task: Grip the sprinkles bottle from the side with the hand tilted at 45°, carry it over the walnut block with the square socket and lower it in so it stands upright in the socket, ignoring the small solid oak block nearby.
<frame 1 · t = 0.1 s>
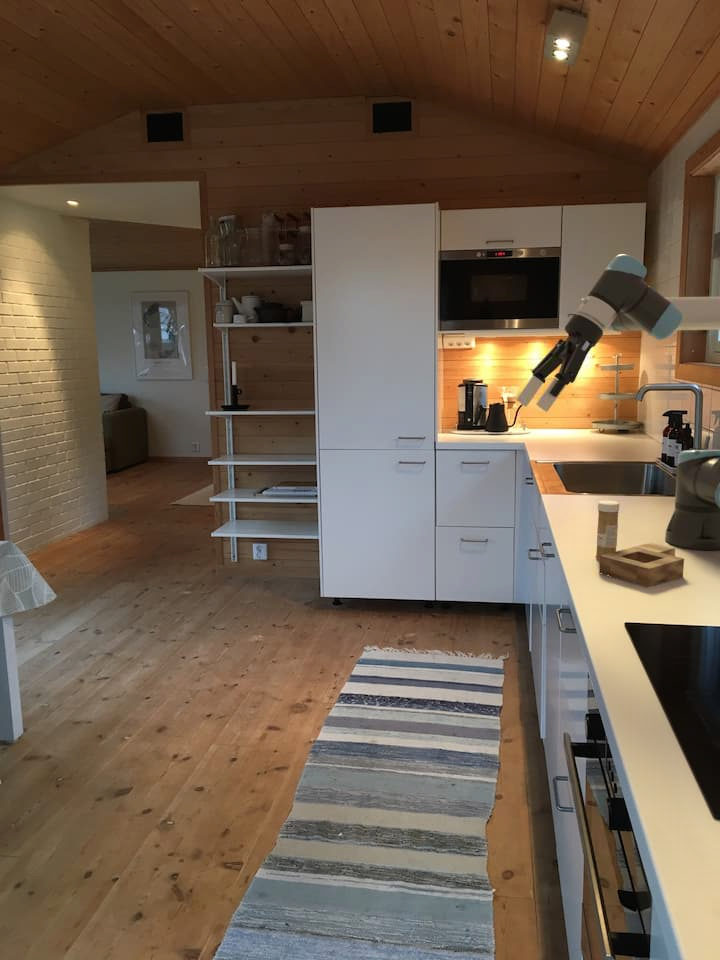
hand: (530, 405, 164), 36 cm above the countertop, tool tilted 35°, fingers open, 13 cm apart
sprinkles bottle: (606, 560, 175), on the countertop
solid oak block: (654, 564, 170), on the countertop
socket block: (640, 575, 163), on the countertop
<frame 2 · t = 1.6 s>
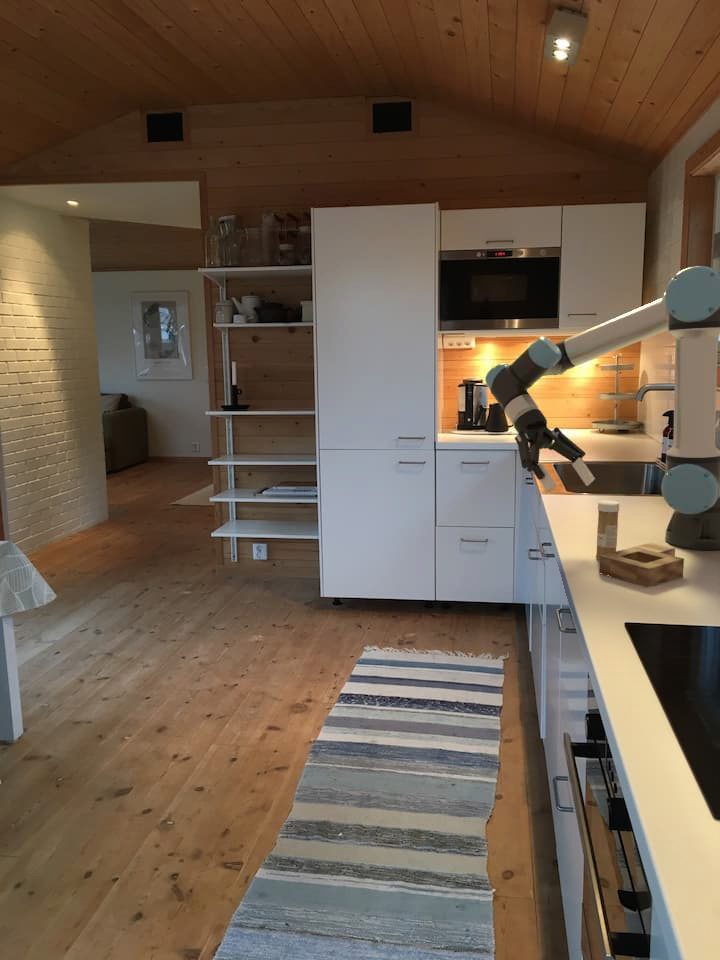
hand: (571, 485, 180), 16 cm above the countertop, tool tilted 45°, fingers open, 13 cm apart
nothing on the countertop moved.
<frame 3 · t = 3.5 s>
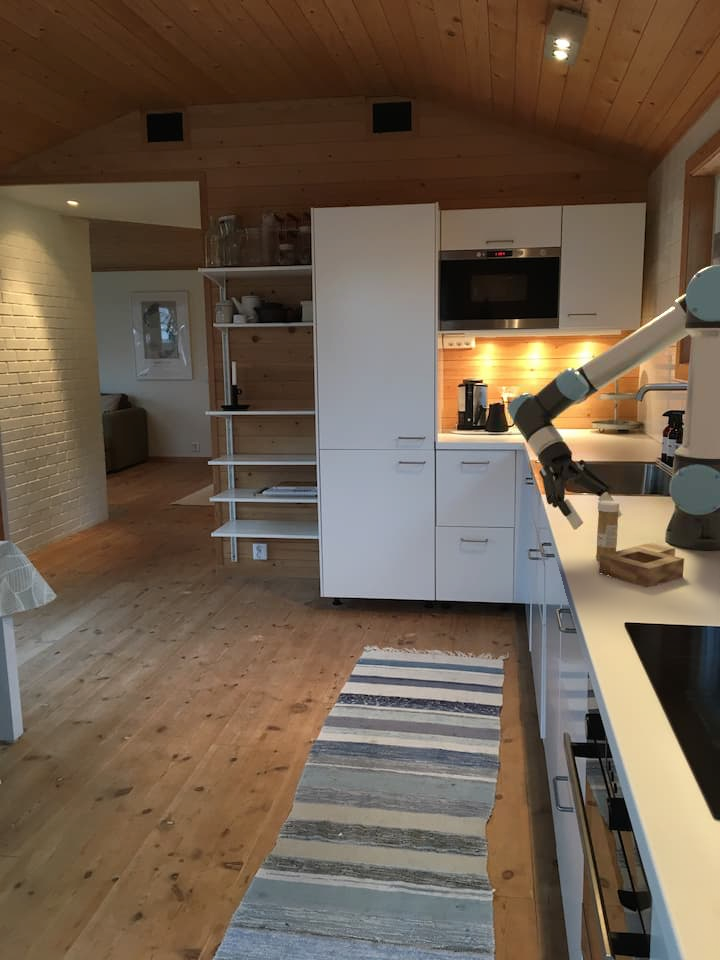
hand: (598, 522, 174), 8 cm above the countertop, tool tilted 45°, fingers open, 13 cm apart
nothing on the countertop moved.
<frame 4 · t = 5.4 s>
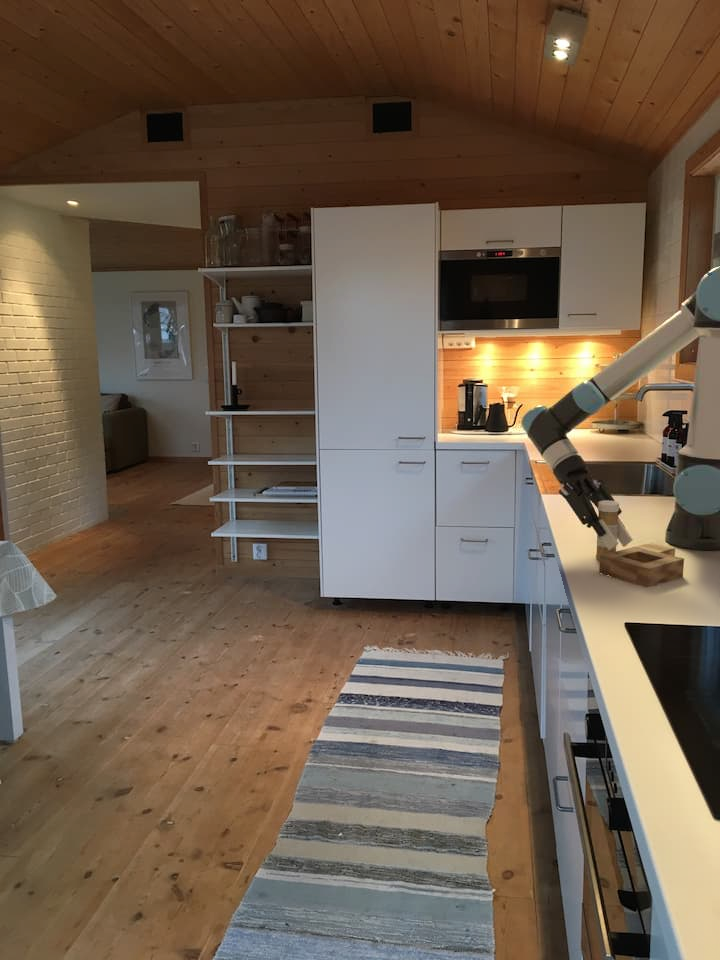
hand: (620, 544, 171), 4 cm above the countertop, tool tilted 45°, fingers closed on sprinkles bottle, 4 cm apart
sprinkles bottle: (606, 560, 175), on the countertop, touching gripper
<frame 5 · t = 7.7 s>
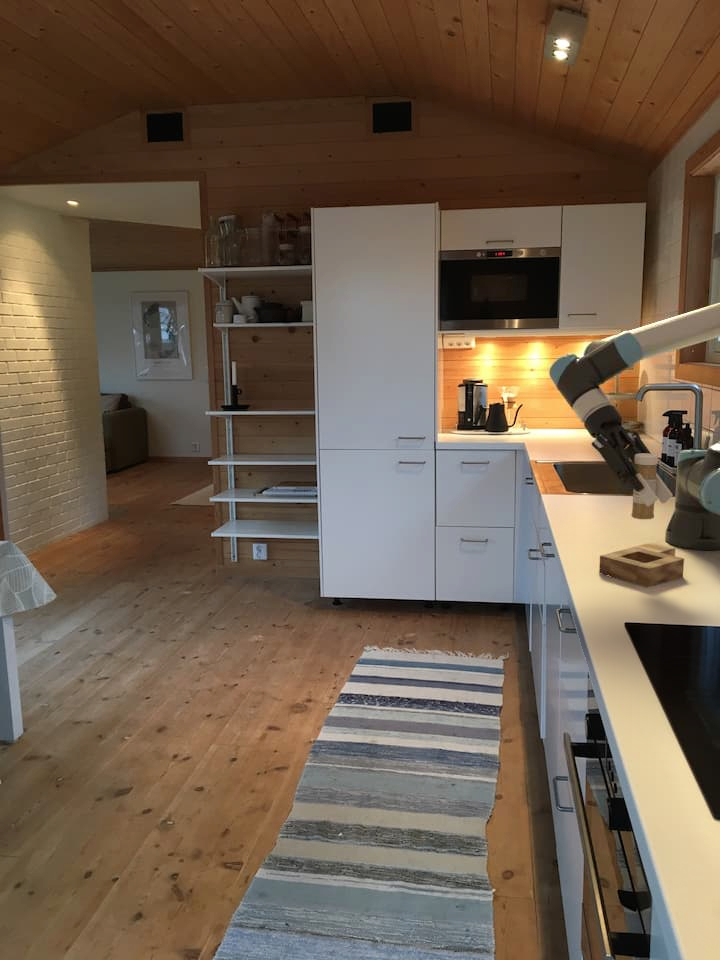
hand: (660, 500, 157), 17 cm above the countertop, tool tilted 45°, fingers closed on sprinkles bottle, 4 cm apart
sprinkles bottle: (642, 518, 161), point 12 cm above the countertop, touching gripper
when the fingers open (7 cm above the countertop, at t = 10.1 s): sprinkles bottle drops 1 cm, resting on socket block.
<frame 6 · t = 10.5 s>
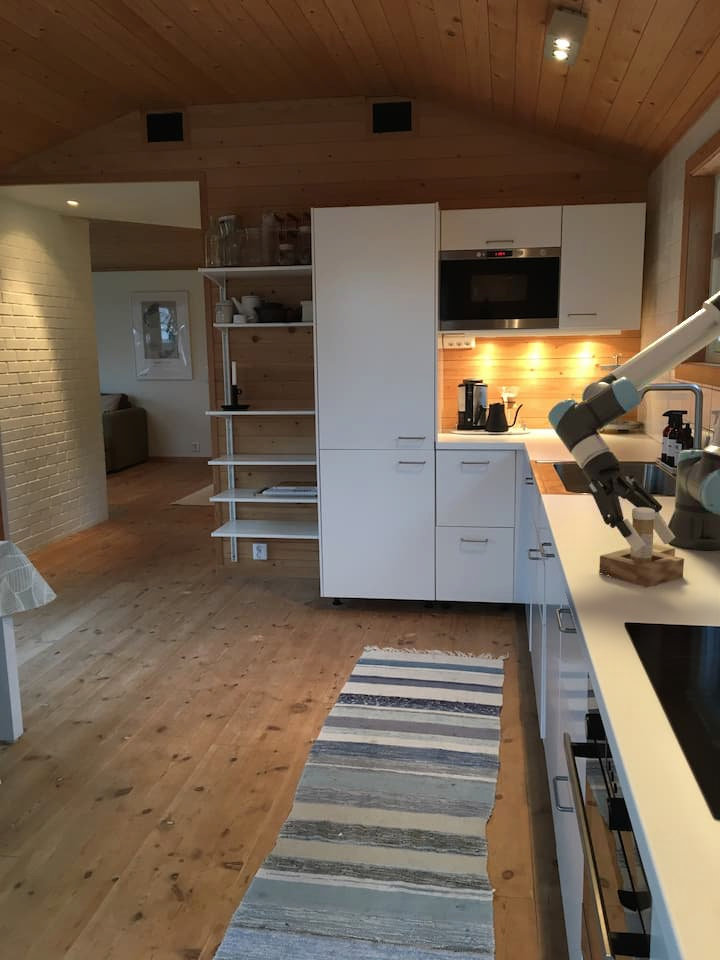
hand: (655, 544, 159), 7 cm above the countertop, tool tilted 45°, fingers open, 9 cm apart
sprinkles bottle: (640, 571, 163), point 1 cm above the countertop, touching socket block
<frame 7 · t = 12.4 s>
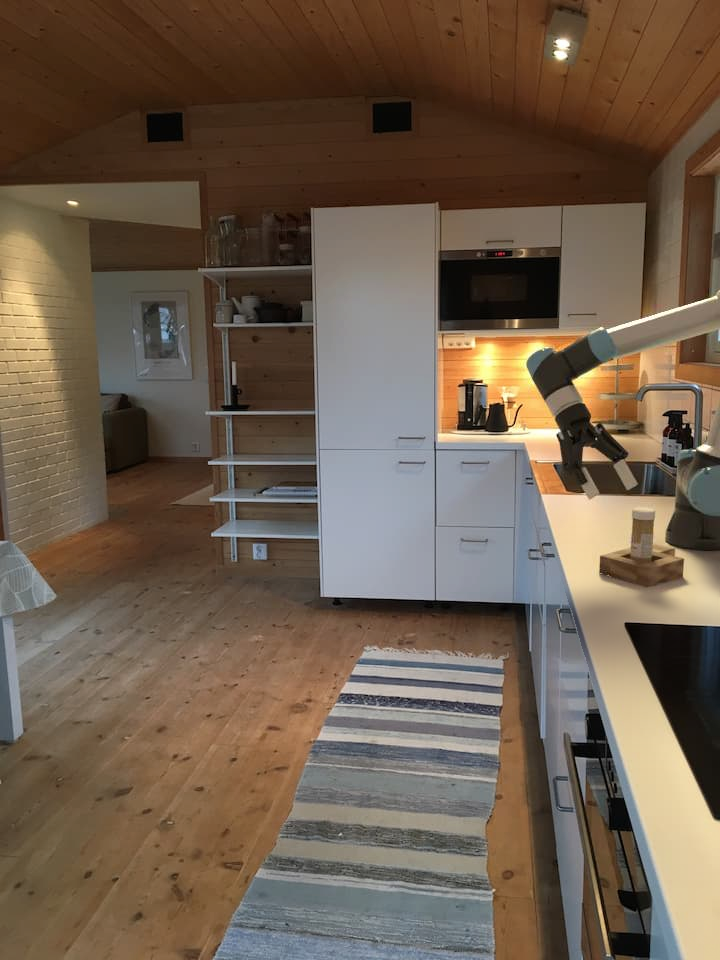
hand: (613, 492, 167), 17 cm above the countertop, tool tilted 35°, fingers open, 13 cm apart
nothing on the countertop moved.
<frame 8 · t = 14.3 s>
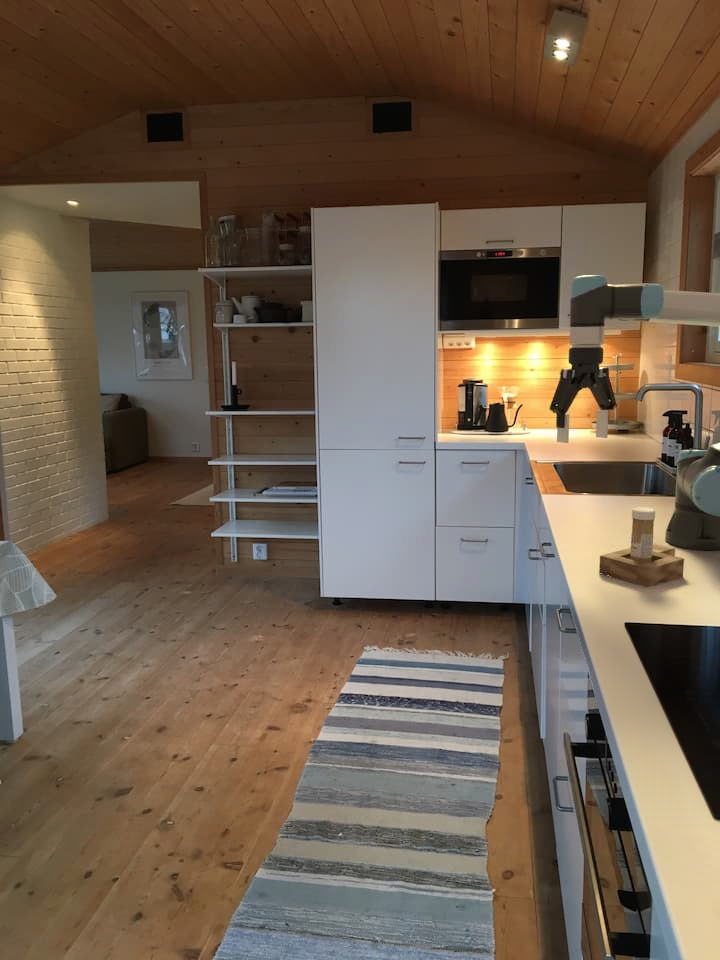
hand: (582, 440, 176), 27 cm above the countertop, tool pointing down, fingers open, 13 cm apart
nothing on the countertop moved.
at the end: sprinkles bottle 0.1 cm off-centre on the socket block, point 0.8 cm above the socket block's base; sprinkles bottle tilted 0°; the gripper is holding nothing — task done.
